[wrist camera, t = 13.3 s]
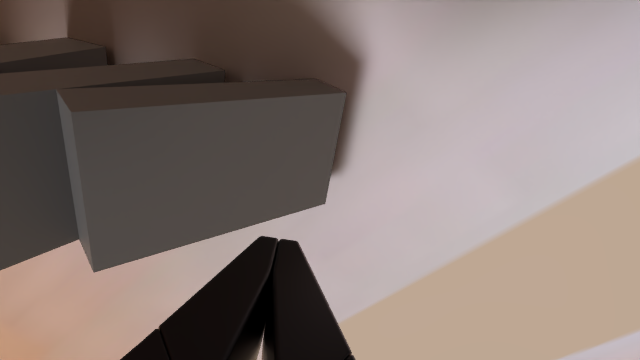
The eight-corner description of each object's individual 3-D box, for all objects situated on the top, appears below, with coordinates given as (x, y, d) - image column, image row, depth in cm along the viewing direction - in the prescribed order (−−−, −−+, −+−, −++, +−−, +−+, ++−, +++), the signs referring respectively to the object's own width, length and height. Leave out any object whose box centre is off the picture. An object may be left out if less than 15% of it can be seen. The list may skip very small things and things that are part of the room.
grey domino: (224, 70, 13) (-109, 107, 7) (219, 183, 15) (-44, 287, 9) (193, 59, 14) (-132, 83, 8) (192, 168, 16) (-68, 255, 10)
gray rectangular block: (346, 92, 13) (70, 111, 8) (325, 203, 15) (93, 272, 10) (316, 79, 14) (56, 89, 9) (300, 184, 16) (79, 239, 11)
